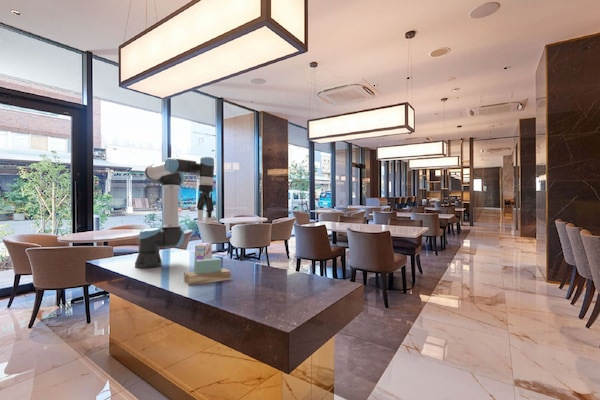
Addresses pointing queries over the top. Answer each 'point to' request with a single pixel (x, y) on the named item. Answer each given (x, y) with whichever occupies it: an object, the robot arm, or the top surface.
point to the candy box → (203, 251)
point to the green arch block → (207, 265)
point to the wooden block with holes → (206, 277)
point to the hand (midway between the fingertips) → (204, 222)
